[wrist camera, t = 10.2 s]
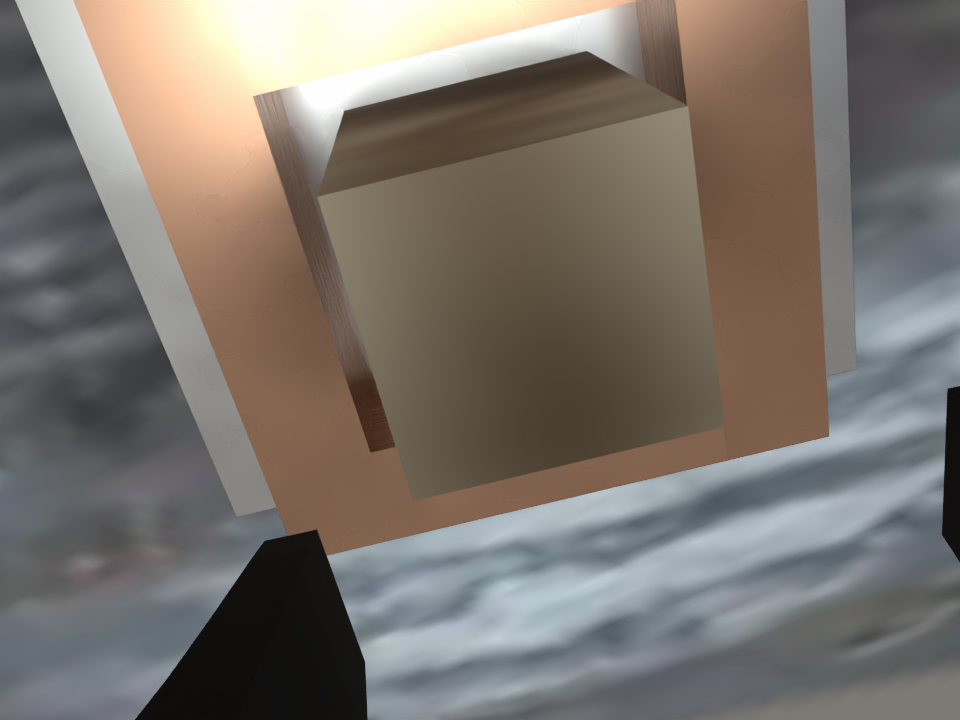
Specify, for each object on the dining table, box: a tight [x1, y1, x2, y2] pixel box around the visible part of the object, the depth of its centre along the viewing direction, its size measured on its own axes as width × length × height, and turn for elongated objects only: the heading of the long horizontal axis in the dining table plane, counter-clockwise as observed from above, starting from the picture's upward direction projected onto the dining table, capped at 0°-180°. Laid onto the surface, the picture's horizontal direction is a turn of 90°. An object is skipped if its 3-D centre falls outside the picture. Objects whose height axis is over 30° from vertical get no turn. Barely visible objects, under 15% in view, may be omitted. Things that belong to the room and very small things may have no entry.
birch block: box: [317, 51, 724, 501], centre depth 14 cm, size 4×4×6 cm
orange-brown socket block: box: [15, 0, 856, 555], centre depth 16 cm, size 14×11×4 cm
